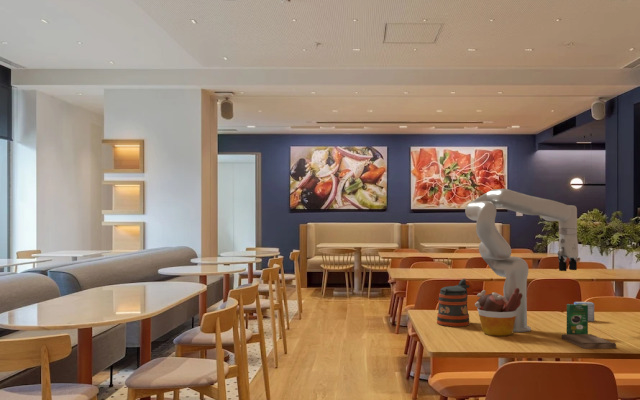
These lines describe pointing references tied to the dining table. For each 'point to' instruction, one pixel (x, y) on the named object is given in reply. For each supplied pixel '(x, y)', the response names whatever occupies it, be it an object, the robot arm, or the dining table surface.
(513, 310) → the bucket of meat
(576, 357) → the dining table surface
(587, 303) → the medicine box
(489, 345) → the dining table surface
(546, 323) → the dining table surface
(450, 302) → the beer stein
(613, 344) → the walnut board
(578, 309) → the coffee box
